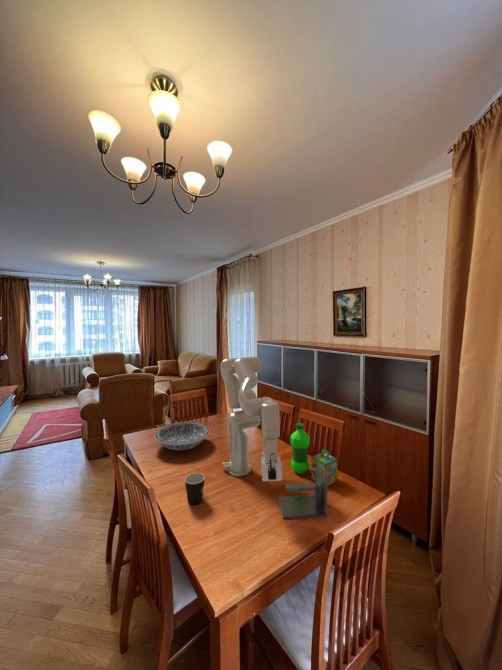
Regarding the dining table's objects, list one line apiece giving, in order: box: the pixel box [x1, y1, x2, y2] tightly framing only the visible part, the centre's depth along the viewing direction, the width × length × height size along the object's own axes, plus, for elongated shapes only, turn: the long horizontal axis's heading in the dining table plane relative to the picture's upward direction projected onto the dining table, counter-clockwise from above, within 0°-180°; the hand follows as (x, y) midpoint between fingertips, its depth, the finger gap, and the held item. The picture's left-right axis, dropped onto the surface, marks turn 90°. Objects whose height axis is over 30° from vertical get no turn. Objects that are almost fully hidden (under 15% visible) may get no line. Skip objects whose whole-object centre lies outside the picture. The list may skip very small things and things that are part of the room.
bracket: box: [277, 467, 328, 520], centre depth 113 cm, size 18×12×14 cm, turn 93°
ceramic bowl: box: [153, 421, 211, 452], centre depth 172 cm, size 34×34×10 cm
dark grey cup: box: [184, 472, 205, 506], centre depth 120 cm, size 12×9×10 cm
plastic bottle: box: [289, 422, 311, 475], centre depth 141 cm, size 10×10×25 cm
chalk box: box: [310, 448, 338, 487], centre depth 133 cm, size 9×9×15 cm
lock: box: [260, 455, 283, 482], centre depth 112 cm, size 8×6×7 cm
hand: (271, 474), depth 112 cm, fingers closed on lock, 6 cm apart
